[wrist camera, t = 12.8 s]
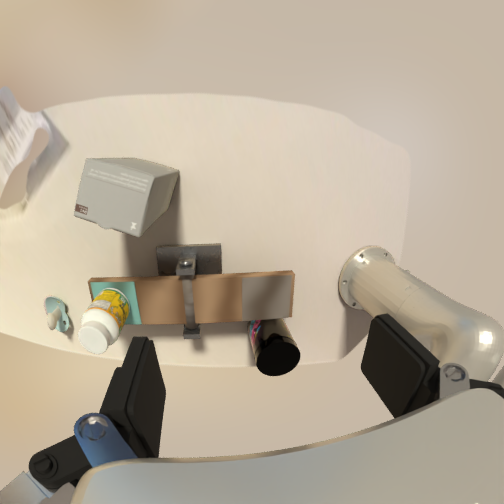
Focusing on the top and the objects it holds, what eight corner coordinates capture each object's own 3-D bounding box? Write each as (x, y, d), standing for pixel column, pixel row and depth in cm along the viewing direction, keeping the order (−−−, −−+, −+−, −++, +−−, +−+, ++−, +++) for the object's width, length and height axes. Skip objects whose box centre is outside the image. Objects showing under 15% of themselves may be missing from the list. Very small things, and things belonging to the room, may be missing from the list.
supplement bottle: (96, 284, 34) (69, 317, 25) (130, 288, 35) (109, 324, 26) (99, 317, 36) (77, 354, 27) (132, 321, 37) (115, 361, 28)
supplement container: (263, 300, 47) (277, 334, 37) (290, 319, 49) (309, 353, 39) (238, 328, 48) (246, 365, 38) (266, 344, 50) (279, 381, 40)
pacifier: (52, 324, 42) (74, 326, 43) (38, 341, 36) (61, 344, 37) (41, 291, 40) (64, 291, 41) (25, 305, 34) (48, 307, 35)
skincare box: (180, 170, 38) (162, 170, 24) (166, 215, 40) (142, 242, 25) (129, 155, 36) (86, 149, 22) (116, 200, 38) (70, 219, 23)
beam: (291, 264, 40) (295, 269, 38) (288, 315, 43) (291, 322, 41) (91, 272, 36) (86, 277, 34) (102, 322, 38) (98, 328, 36)
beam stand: (220, 243, 43) (223, 259, 35) (223, 316, 46) (226, 343, 39) (157, 245, 41) (146, 262, 34) (166, 318, 45) (159, 345, 37)
